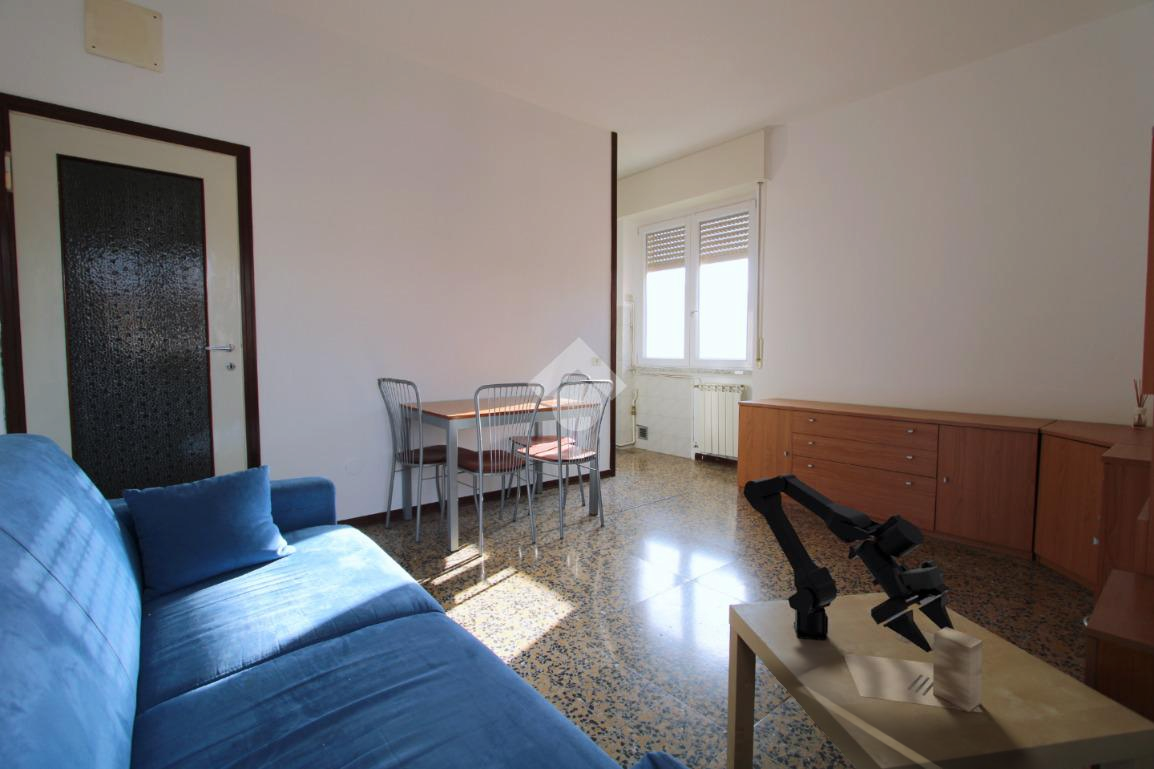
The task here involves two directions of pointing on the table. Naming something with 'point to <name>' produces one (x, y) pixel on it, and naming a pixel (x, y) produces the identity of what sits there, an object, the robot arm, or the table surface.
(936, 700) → the white flat sheet
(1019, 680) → the table surface
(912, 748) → the table surface
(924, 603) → the robot arm
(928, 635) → the clay tablet
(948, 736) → the table surface
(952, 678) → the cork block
